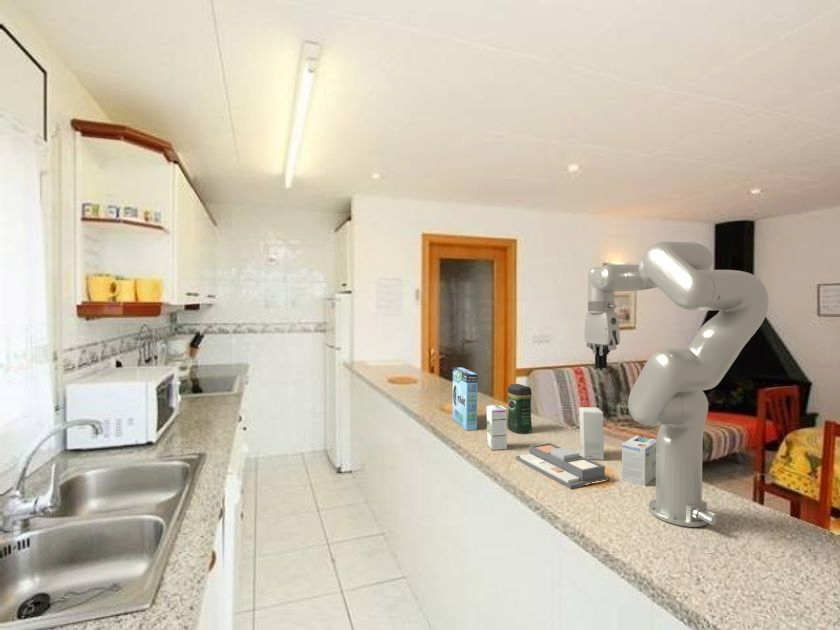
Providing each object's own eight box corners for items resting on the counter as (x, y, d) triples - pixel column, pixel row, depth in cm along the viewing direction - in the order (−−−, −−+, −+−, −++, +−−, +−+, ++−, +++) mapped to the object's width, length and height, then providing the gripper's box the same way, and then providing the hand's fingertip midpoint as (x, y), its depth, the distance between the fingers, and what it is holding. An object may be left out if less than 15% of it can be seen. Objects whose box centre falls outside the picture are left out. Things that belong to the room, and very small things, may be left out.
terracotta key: (562, 458, 141) (562, 450, 141) (546, 460, 138) (546, 453, 138) (549, 452, 146) (549, 445, 146) (534, 454, 144) (534, 447, 144)
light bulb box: (634, 469, 134) (634, 434, 134) (658, 475, 129) (658, 439, 129) (620, 479, 127) (621, 442, 126) (645, 486, 122) (646, 447, 122)
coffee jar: (535, 432, 173) (535, 385, 173) (518, 435, 170) (518, 387, 170) (521, 426, 182) (521, 382, 182) (504, 428, 179) (504, 383, 179)
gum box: (452, 419, 195) (451, 367, 195) (463, 418, 196) (462, 367, 196) (466, 431, 176) (466, 374, 176) (478, 430, 177) (478, 373, 177)
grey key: (579, 461, 134) (579, 453, 134) (563, 464, 131) (563, 455, 131) (565, 455, 139) (565, 447, 139) (550, 457, 137) (550, 449, 137)
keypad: (609, 480, 126) (609, 466, 126) (570, 488, 120) (570, 474, 120) (550, 453, 149) (550, 441, 149) (516, 459, 143) (515, 447, 143)
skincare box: (604, 460, 142) (604, 412, 142) (582, 459, 143) (582, 411, 143) (598, 452, 150) (599, 406, 150) (578, 451, 151) (578, 406, 151)
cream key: (598, 474, 127) (598, 466, 127) (582, 478, 124) (582, 469, 124) (583, 467, 132) (583, 459, 132) (567, 470, 130) (567, 462, 130)
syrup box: (507, 449, 153) (507, 408, 153) (491, 450, 152) (491, 409, 152) (501, 444, 159) (501, 404, 159) (486, 445, 158) (486, 405, 158)
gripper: (630, 308, 129) (630, 370, 129) (592, 307, 142) (591, 364, 143) (611, 308, 126) (611, 372, 126) (574, 308, 139) (573, 365, 140)
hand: (600, 367), depth 134 cm, fingers closed
